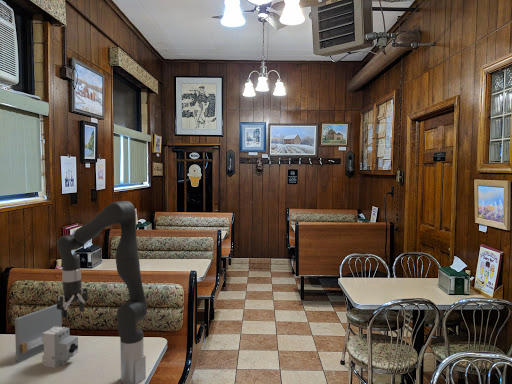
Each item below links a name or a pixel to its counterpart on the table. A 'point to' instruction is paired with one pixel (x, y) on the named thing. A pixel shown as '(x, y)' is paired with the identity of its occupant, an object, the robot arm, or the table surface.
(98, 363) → the table surface
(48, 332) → the circuit breaker
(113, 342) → the table surface
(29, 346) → the din rail
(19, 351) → the mounting panel
